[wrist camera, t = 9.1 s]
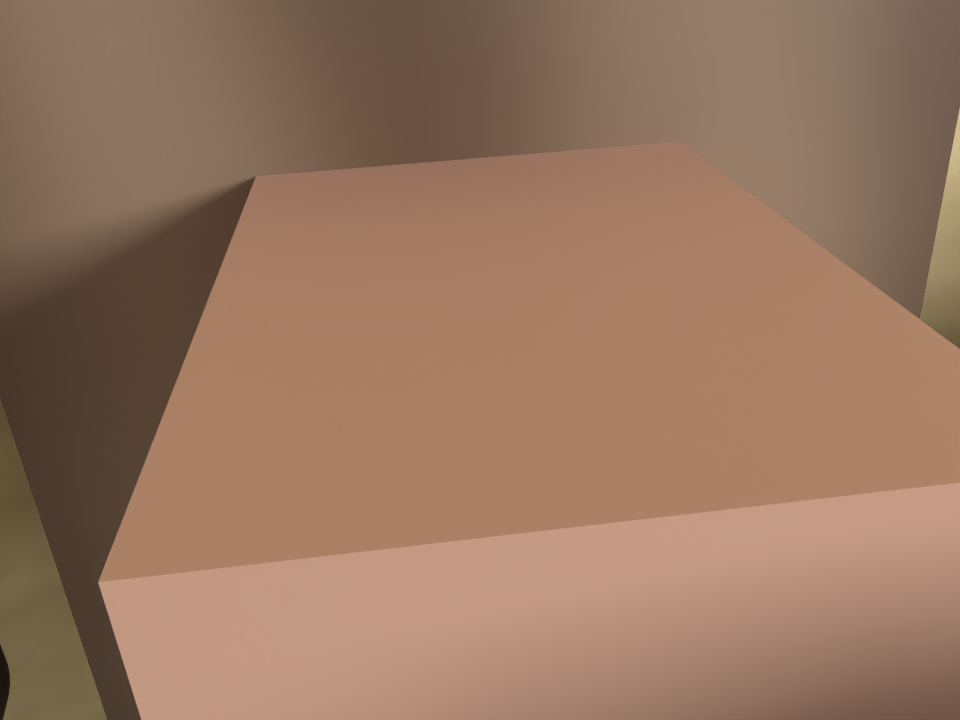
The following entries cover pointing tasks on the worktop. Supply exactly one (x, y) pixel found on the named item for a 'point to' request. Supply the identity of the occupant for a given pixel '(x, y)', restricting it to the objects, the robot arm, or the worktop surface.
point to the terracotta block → (544, 461)
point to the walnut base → (392, 141)
